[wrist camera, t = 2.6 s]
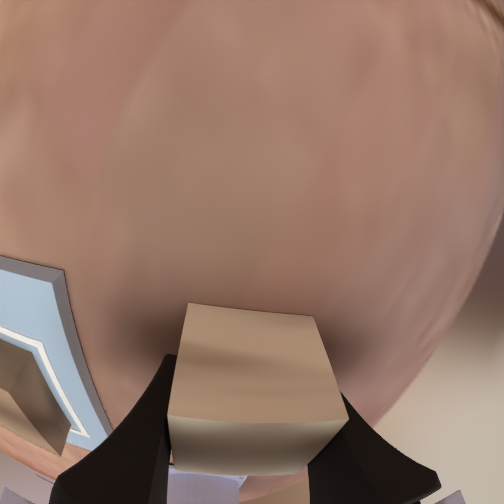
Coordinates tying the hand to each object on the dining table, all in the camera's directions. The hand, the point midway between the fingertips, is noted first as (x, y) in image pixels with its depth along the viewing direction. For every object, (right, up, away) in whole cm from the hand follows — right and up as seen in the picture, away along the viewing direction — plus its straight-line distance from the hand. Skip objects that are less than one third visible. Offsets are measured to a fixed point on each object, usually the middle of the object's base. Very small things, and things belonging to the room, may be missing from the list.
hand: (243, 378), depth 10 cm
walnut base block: (-16, -3, +1) cm, 16 cm away
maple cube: (0, +1, +1) cm, 1 cm away
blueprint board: (-16, -3, +2) cm, 16 cm away
